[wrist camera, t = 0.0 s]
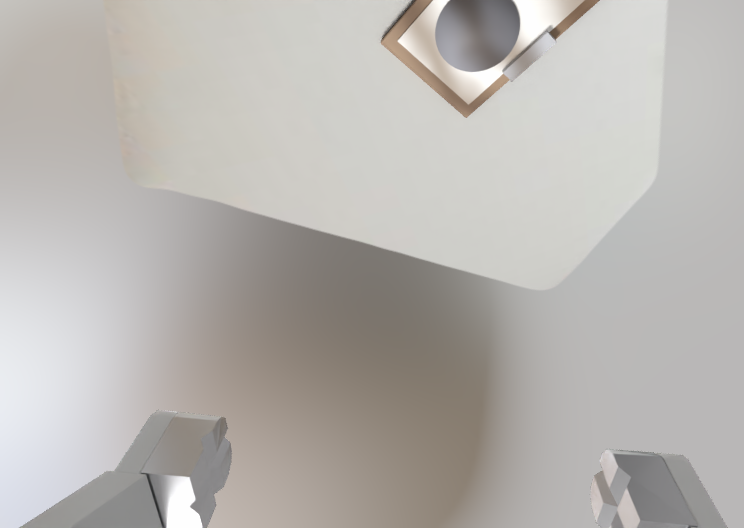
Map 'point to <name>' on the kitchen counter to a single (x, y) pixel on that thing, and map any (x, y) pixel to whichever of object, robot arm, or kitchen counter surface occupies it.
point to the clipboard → (478, 42)
